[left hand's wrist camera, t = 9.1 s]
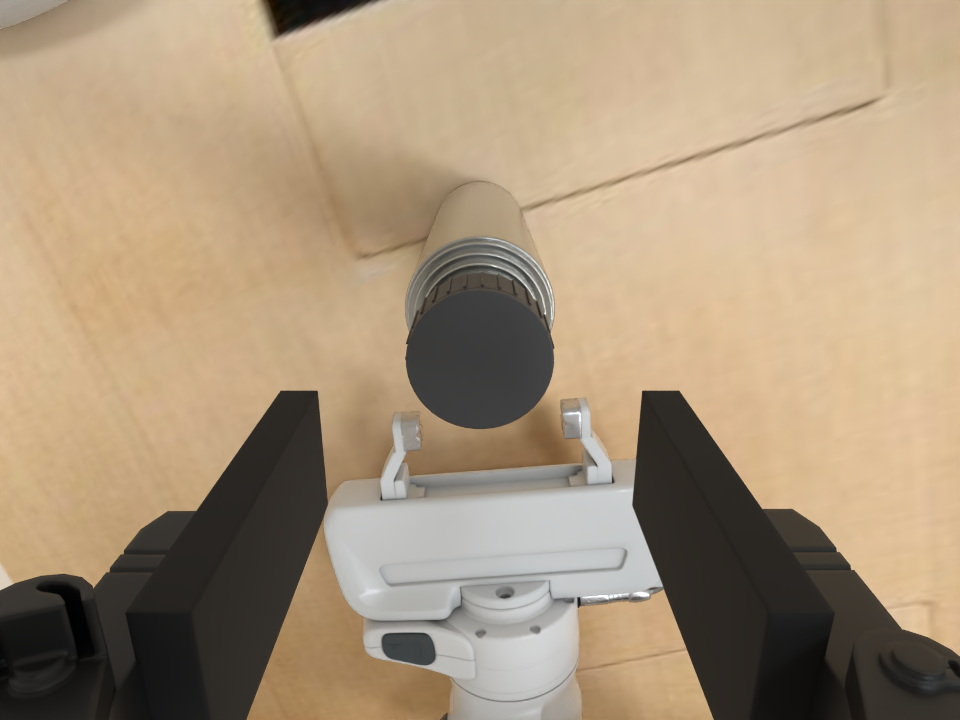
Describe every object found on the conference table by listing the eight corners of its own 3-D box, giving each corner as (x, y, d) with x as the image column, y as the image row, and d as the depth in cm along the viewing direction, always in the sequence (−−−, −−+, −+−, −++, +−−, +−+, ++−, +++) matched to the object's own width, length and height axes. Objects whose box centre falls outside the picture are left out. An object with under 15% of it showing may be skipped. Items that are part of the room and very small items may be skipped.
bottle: (476, 162, 40) (472, 226, 18) (542, 223, 41) (610, 351, 20) (418, 229, 41) (350, 364, 20) (483, 287, 42) (486, 472, 21)
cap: (474, 240, 20) (473, 256, 18) (577, 332, 21) (587, 357, 19) (383, 342, 21) (372, 368, 19) (485, 425, 22) (485, 458, 20)
